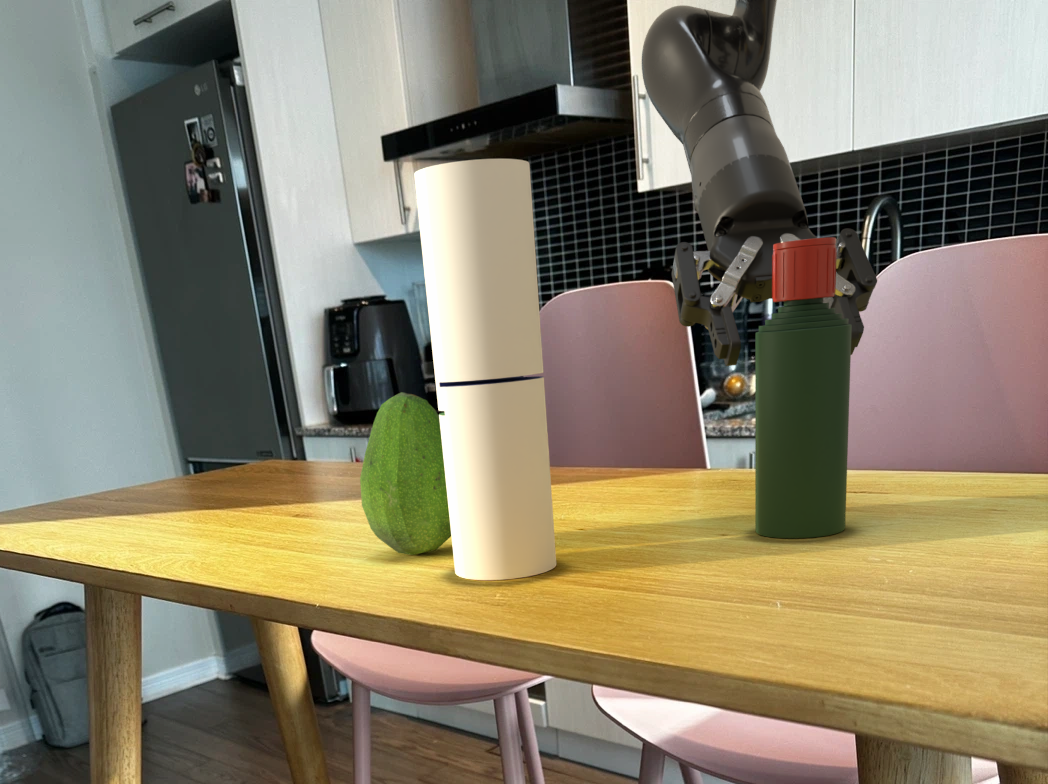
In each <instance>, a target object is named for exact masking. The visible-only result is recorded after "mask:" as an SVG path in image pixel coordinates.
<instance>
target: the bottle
mask: <svg viewBox="0 0 1048 784" xmlns="http://www.w3.org/2000/svg"><path fill="white" fill-rule="evenodd" d="M764 322H765V323H764V325H758V331H756V332H755V345H754V346H755V349H754V350H755V354H754V355H755V357H754V358H755V361H754V362H755V366H754V367H755V375H754V376H755V377H754V378H755V384H754V385H755V386H754V387H755V395H754V397H755V399H754V400H755V401H754V402H755V405H754V406H755V408H754V409H755V412H754V413H755V414H754V415H755V416H754V417H755V419H754V422H755V423H754V424H755V426H754V427H755V433H754V434H755V441H754V442H755V444H754V445H755V447H754V448H755V450H754V451H755V454H754V455H755V458H754V459H755V466H754V467H755V468H754V469H755V473H754V475H755V476H754V477H755V478H754V479H755V480H754V481H755V482H754V483H755V484H754V485H755V486H754V487H755V491H754V493H755V498H754V499H755V500H754V501H755V502H754V503H755V504H754V505H755V506H754V507H755V509H754V510H755V512H754V513H755V516H754V517H755V518H754V519H755V520H754V521H755V526H754V528H755V533H756V535H757V534H758V535H760V536H762V537H768V538H775V539H813V538H821V537H827V536H832V535H833V536H834V535H836V534H840V533H841V532H844V531H845V529H846V517H847V515H846V513H847V487H848V486H847V483H848V456H849V455H848V452H849V422H850V390H851V389H850V388H851V387H850V386H851V358H852V355H851V329H852V325H851V324H848V319H842V313H838V314H835V308H829V303H823V298H814V299H802V300H792V301H784V302H783V306H778V307H777V312H776V313H775V312H774V313H771V318H770V319H765V320H764Z"/></svg>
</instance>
